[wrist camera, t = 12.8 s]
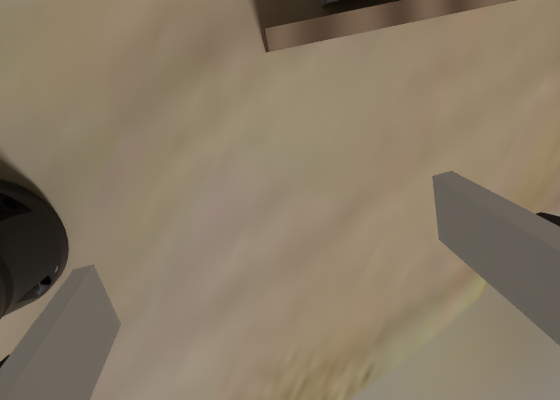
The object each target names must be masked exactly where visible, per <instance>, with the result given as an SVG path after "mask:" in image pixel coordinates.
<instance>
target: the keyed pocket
mask: <svg viewBox="0 0 560 400" xmlns="http://www.w3.org/2000/svg"><path fill="white" fill-rule="evenodd" d="M321 1H322V6H323V5H328V4H333V3H338V2H343V1H348V0H321Z"/></svg>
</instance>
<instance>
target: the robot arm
mask: <svg viewBox="0 0 560 400" xmlns="http://www.w3.org/2000/svg"><path fill="white" fill-rule="evenodd" d="M432 177H433V186H434V196H435V206H436V216H437V225H438V235H439V240H440V241H441V242H442V243H443V244H445V245H446V246H447V247H448V248H449V249H450V250H451V251H453V252H454V253H455V254H456V255H457V256H458V257H459V258H461V259H462V260H463V261H464V262H465V263H466V264H467V265H468V266H470V267H471V268H472V269H473V270H474V271H475V272H476V273H478V274H479V275H480V276H481V277H482V278H483V279H484V280H486V281H487V282H488V283H489V284H490V285H491V286H492V287H494V288H495V289H496V290H497V291H498V292H499V293H500V294H501V295H503V296H504V297H505V298H506V299H507V300H508V301H510V302H511V303H512V304H513V305H514V306H515V307H516V308H517V309H519V310H520V311H521V312H522V313H523V314H524V315H525V316H527V317H528V318H529V319H530V320H531V321H532V322H534V324H536V325H537V326H538V327H539V328H540V329H541V330H542V331H544V332H545V333H546V334H547V335H548V336H549V337H551V338H552V339H553V340H554V341H555V342H556V343H557V344H558V345H560V217H559V216H555V215H551V214H546V213H542V212H540V213H537V214H534V213H532V212H530V211H528V210H526V209H524V208H522V207H521V206H519V205H517V204H515V203H513V202H511V201H509V200H507V199H505V198H503V197H501V196H499V195H497V194H495V193H493V192H491V191H490V190H488V189H486V188H484V187H482V186H480V185H478V184H476V183H474V182H472V181H470V180H468V179H466V178H464V177H462V176H460V175H459V174H457V173H455V172H453V171H450V172H446V173H442V174H438V175H434V176H432ZM67 259H68V240H67V236H66V232H65V230H64V227H63V225H62V223H61V221H60V219H59V218H58V216H57V215H56V214H55V212H54V211H53V210H52V209H51V208H50V206H49V205H48V204H47V203H45V202H44V201H43V200H42V199H41V198H39V197H38V196H37V195H35V194H34V193H32V192H31V191H29V190H27V189H25V188H23V187H21V186H19V185H16V184H13V183H10V182H7V181H3V180H0V319H1V318H2V317H3V316H5V315H7V314H9V313H11V312H13V311H15V310H17V309H19V308H21V307H23V306H26V305H28V304H30V303H32V302H34V301H35V300H37V299H38V298H40V297H41V296H43V295H44V294H45V293H46V292H47V291H48V290H49V289H50V288H51V287H52V286H53V284H54V283H55V282H56V281H57V280H58V278H59V277H60V276H61V274H62V272H63V271H64V268H65V266H66V263H67ZM120 325H121V323H120V321H119V319H118V317H117V315H116V312H115V310H114V308H113V306H112V304H111V301H110V299H109V297H108V295H107V293H106V290H105V288H104V286H103V284H102V282H101V279H100V277H99V275H98V273H97V271H96V268H95V266H94V265H90V266H86V267H82V268H79V269H75V270H73V271H72V273H71V274H70V275H69V277H68V278H67V279H66V281H65V282H64V283H63V285H62V286H61V287H60V289H59V290H58V291H57V293H56V294H55V295H54V297H53V298H52V299H51V301H50V302H49V303H48V305H47V306H46V307H45V309H44V310H43V312H42V313H41V314H40V316H39V317H38V318H37V320H36V321H35V322H34V324H33V325H32V326H31V328H30V329H29V330H28V332H27V333H26V334H25V336H24V337H23V338H22V340H21V341H20V342H19V344H18V345H17V346H16V348H15V349H14V351H13V352H12V353H11V355H8V356H6V357H5V358H4V359H3V360H2V361H1V362H0V400H90V397H91V395H92V392H93V390H94V388H95V385H96V383H97V380H98V378H99V376H100V373H101V371H102V368H103V366H104V364H105V361H106V359H107V356H108V354H109V351H110V349H111V347H112V344H113V342H114V339H115V337H116V335H117V332H118V330H119V327H120Z"/></svg>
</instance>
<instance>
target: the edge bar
mask: <svg viewBox="0 0 560 400" xmlns="http://www.w3.org/2000/svg"><path fill="white" fill-rule="evenodd" d="M510 1H515V0H400V1H395V2H391V3H386V4H381V5H376V6H371V7H366V8H362V9H357V10H352V11H347V12H342V13H338V14H333V15H328V16H323V17H318V18H313V19H309V20H304V21H299V22H294V23H289V24H284V25H280V26H275V27H270V28H265V29H264V30H263V31H262V34H263V40H264V45H265V50H266V52H270V51H275V50H280V49H285V48H289V47H294V46H299V45H304V44H309V43H313V42H318V41H323V40H328V39H333V38H337V37H342V36H347V35H352V34H357V33H361V32H366V31H371V30H376V29H381V28H385V27H390V26H395V25H400V24H405V23H409V22H414V21H419V20H424V19H429V18H433V17H438V16H443V15H448V14H453V13H457V12H462V11H467V10H472V9H477V8H481V7H486V6H491V5H496V4H500V3H505V2H510Z"/></svg>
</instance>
